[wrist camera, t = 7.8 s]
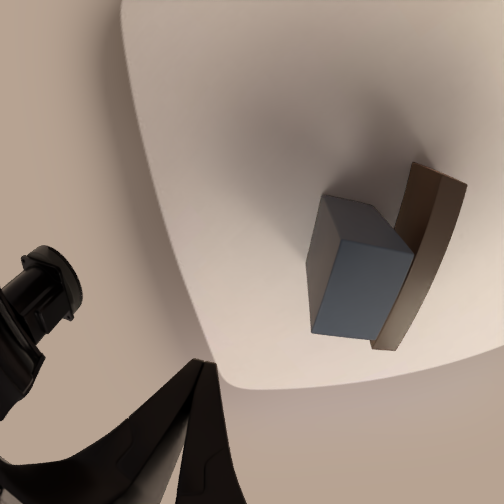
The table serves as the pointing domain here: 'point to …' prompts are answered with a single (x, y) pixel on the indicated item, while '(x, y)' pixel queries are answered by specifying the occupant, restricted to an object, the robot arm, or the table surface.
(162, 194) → the table surface
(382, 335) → the walnut rail
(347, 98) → the table surface
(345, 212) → the slate block
